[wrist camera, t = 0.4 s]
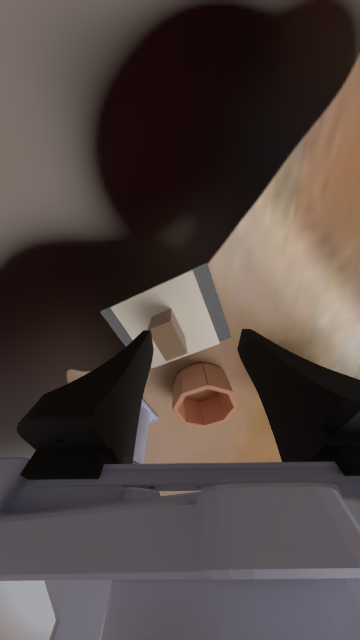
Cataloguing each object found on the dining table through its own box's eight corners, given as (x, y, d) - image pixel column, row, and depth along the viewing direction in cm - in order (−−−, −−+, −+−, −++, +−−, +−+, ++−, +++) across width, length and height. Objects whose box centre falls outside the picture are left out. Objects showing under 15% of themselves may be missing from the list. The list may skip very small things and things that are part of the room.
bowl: (186, 405, 30) (188, 432, 26) (165, 373, 26) (164, 399, 22) (232, 391, 29) (243, 417, 24) (217, 355, 25) (227, 378, 20)
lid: (152, 365, 25) (148, 388, 20) (112, 306, 20) (95, 320, 16) (219, 341, 23) (228, 361, 19) (191, 269, 18) (197, 274, 14)
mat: (143, 368, 25) (142, 369, 25) (101, 310, 20) (99, 311, 20) (230, 335, 23) (231, 337, 23) (206, 262, 18) (206, 262, 18)
